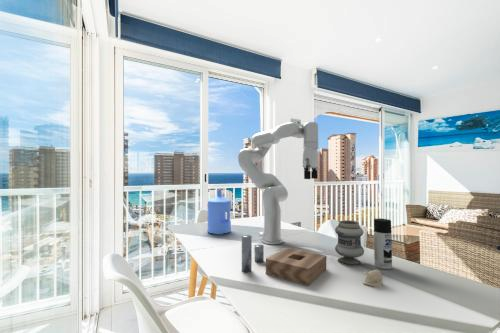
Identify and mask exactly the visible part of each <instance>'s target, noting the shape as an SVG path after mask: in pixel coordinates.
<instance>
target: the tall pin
mask: <svg viewBox="0 0 500 333" xmlns="http://www.w3.org/2000/svg"><path fill="white" fill-rule="evenodd" d="M252 238H253V237H252V235H251V234H250V235H249V234H245V235H244V234H243V235H242V236H241V272H242V273H245V274H247V273H251V272H252V270H253V269H252V259H253V258H252V253H253V252H252V243H253V242H252Z"/></svg>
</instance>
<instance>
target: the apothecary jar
mask: <svg viewBox="0 0 500 333" xmlns="http://www.w3.org/2000/svg"><path fill="white" fill-rule="evenodd" d="M334 231H335V232H334V233H335V234H337V244H336V245H335V247H334V250H335V252H336V253H337V254H338V255H340V256H341V257H339V258H337V262H338V263H339V264H341V265H345V266H347V267H359V266H361V265H362V261H361V260H359V259H358V258H360V257H362V256H364V254H365V249H364V247H363V246H362V242H361V239H362V238H361V237H362V236H363V235H364V229H363V228H362V227H361V226H360V223H359V221H357V220H356V221H355V220H346V219H345V220H340V221H339V222H338V225H337V226H336V227H335V229H334Z"/></svg>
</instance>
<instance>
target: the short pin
mask: <svg viewBox="0 0 500 333" xmlns="http://www.w3.org/2000/svg"><path fill="white" fill-rule="evenodd" d="M264 248H265V247H264V244H255V245H254V262H255V263H257V264H262V263H265V262H264V260H265V259H264V256H265V255H264V254H265V253H264V252H265V250H264Z"/></svg>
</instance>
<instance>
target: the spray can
mask: <svg viewBox="0 0 500 333" xmlns="http://www.w3.org/2000/svg"><path fill="white" fill-rule="evenodd" d="M392 234H393V233H392V220H391V219H388V218H374V219H373V242H374V244H373V245H374V246H373V247H374V251H373V252H374V266H375V267H376V268H378V269H381V270H392V269H393V245H392V244H393V243H392V241H393V239H392V238H393V237H392V236H393V235H392Z"/></svg>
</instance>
